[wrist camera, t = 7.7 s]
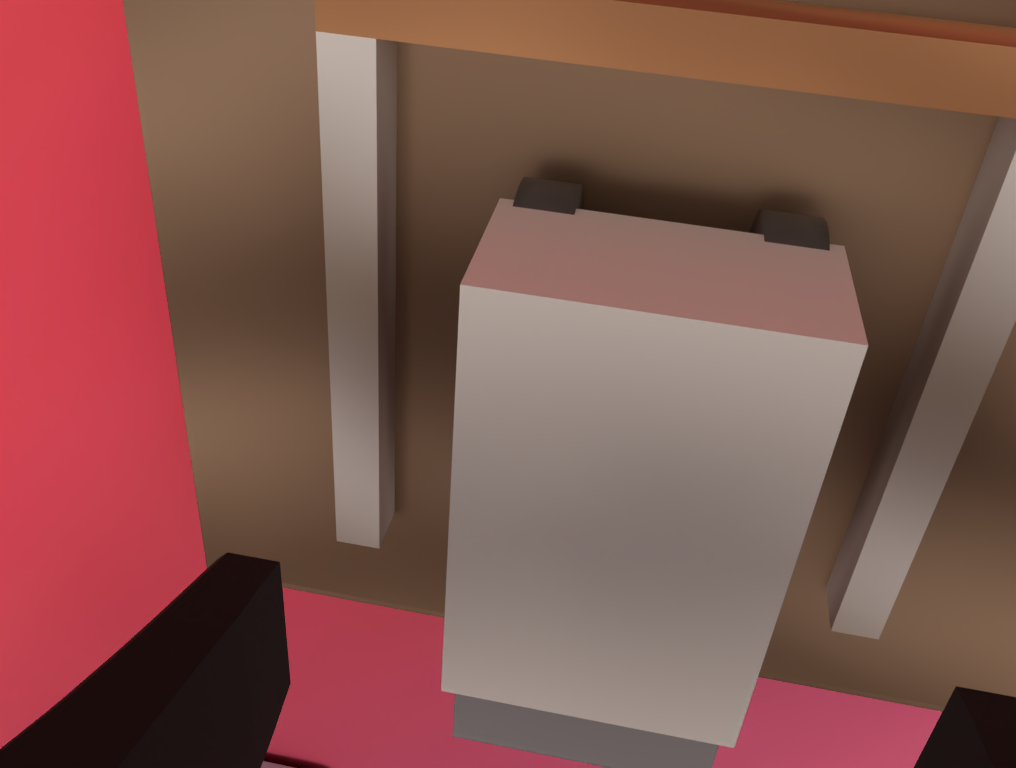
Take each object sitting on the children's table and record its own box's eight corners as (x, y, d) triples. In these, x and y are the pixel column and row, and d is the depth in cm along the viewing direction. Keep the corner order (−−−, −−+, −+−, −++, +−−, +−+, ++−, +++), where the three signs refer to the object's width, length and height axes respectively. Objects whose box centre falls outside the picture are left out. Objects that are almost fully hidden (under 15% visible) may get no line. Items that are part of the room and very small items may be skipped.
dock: (971, 688, 20) (998, 796, 18) (240, 552, 22) (191, 637, 20) (1348, -20, 12) (1473, 31, 10) (156, -147, 14) (60, -125, 12)
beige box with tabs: (718, 603, 18) (718, 795, 15) (487, 561, 19) (439, 739, 15) (833, 188, 13) (870, 337, 10) (521, 146, 14) (460, 276, 11)
